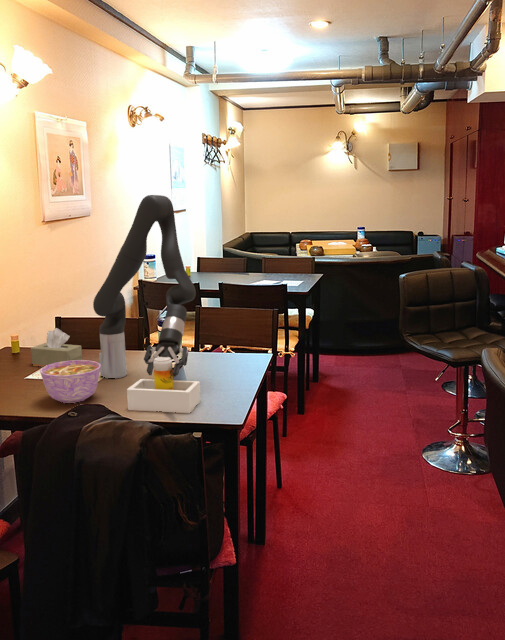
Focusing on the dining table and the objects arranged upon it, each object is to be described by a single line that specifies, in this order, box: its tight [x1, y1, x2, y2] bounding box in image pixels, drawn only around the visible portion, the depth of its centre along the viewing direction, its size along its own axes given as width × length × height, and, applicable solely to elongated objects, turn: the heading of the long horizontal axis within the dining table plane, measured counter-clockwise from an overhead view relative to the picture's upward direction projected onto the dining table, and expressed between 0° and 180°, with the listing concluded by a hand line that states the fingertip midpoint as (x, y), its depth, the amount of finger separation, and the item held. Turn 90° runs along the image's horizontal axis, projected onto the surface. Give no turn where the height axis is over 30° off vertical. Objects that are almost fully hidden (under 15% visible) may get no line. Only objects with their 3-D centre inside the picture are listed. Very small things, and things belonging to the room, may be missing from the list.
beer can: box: [153, 356, 174, 390], centre depth 210 cm, size 6×6×15 cm
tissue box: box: [30, 327, 83, 365], centre depth 264 cm, size 19×10×16 cm, turn 68°
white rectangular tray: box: [126, 378, 201, 414], centre depth 211 cm, size 21×12×7 cm, turn 78°
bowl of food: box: [39, 359, 101, 404], centre depth 218 cm, size 20×20×12 cm
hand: (161, 374), depth 208 cm, fingers open, 8 cm apart
